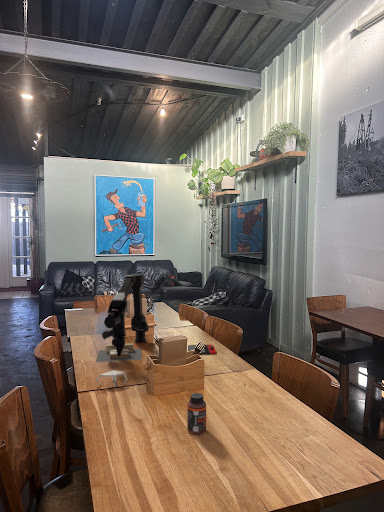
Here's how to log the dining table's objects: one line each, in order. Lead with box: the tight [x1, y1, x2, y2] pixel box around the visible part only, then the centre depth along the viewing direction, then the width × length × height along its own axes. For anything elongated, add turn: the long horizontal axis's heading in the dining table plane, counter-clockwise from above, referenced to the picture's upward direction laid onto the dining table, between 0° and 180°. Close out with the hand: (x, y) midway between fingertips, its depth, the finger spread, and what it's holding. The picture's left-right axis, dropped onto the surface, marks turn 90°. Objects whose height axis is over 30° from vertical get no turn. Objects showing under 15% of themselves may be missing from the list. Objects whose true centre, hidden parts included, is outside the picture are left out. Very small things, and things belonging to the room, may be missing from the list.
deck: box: [110, 349, 128, 359], centre depth 186 cm, size 6×9×2 cm, turn 99°
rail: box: [105, 342, 134, 353], centre depth 194 cm, size 3×14×4 cm, turn 99°
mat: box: [95, 348, 142, 363], centre depth 188 cm, size 18×22×1 cm
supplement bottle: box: [186, 392, 207, 435], centre depth 116 cm, size 6×6×11 cm
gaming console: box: [188, 343, 217, 356], centre depth 193 cm, size 29×4×10 cm
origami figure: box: [95, 369, 128, 387], centre depth 152 cm, size 12×8×5 cm
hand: (119, 353), depth 186 cm, fingers closed on deck, 6 cm apart
